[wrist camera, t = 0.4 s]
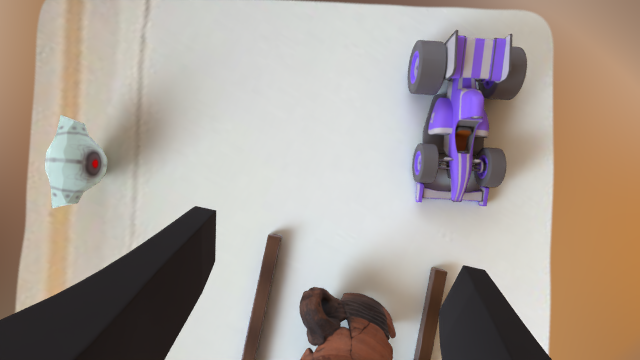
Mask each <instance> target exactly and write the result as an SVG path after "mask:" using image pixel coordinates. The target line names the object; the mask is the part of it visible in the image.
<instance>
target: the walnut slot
mask: <svg viewBox="0 0 640 360" xmlns="http://www.w3.org/2000/svg"><path fill="white" fill-rule="evenodd" d="M280 241H281V236H280V235H275V234H269V235H268V238H267V243H266V248H265V252H264V257H263V262H262V266H261V271H260V276H259V280H258V285H257V289H256V294H255V299H254V303H253V308H252V313H251V317H250V322H249V327H248V331H247V336H246V341H245V345H244V350H243V354H242V359H241V360H255V358H256V353H257V349H258V344H259V339H260V335H261V330H262V325H263V321H264V316H265V311H266V307H267V302H268V297H269V293H270V288H271V283H272V279H273V274H274V269H275V265H276V260H277V255H278V251H279V246H280ZM446 276H447V272H446V271H445V270H443V269H438V268H433V267H432V268H431V272H430V278H429V283H428V288H427V293H426V298H425V303H424V309H423V314H422V319H421V324H420V329H419V334H418V340H417V345H416V350H415V355H414V360H431V355H432V349H433V344H434V339H435V334H436V328H437V323H438V318H439V310H440V308H441V302H442V297H443V292H444V287H445V281H446Z"/></svg>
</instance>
